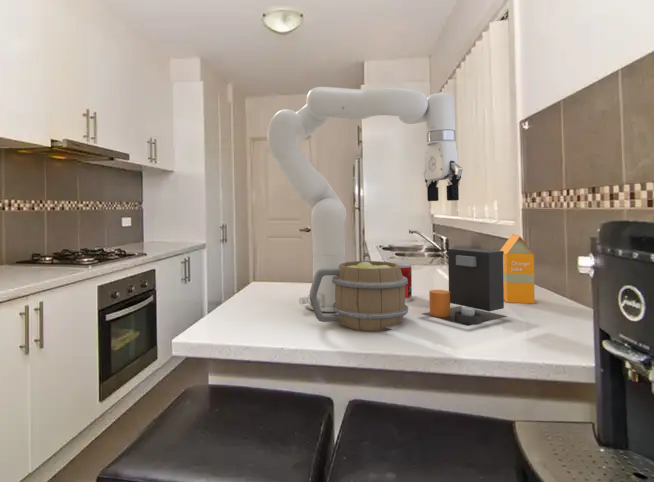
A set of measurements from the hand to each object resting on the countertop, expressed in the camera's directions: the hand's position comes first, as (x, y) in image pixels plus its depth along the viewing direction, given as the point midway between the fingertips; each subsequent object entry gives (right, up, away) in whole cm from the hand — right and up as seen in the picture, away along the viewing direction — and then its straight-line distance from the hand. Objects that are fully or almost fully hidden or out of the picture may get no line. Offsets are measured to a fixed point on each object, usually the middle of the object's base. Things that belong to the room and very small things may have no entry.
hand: (442, 200), depth 125 cm
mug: (-25, -31, -12) cm, 42 cm away
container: (-4, -29, -8) cm, 31 cm away
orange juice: (+28, -31, +14) cm, 44 cm away
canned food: (-8, -31, +17) cm, 36 cm away
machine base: (+2, -31, -9) cm, 32 cm away
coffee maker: (+6, -28, -6) cm, 29 cm away
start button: (+1, -28, -15) cm, 32 cm away
